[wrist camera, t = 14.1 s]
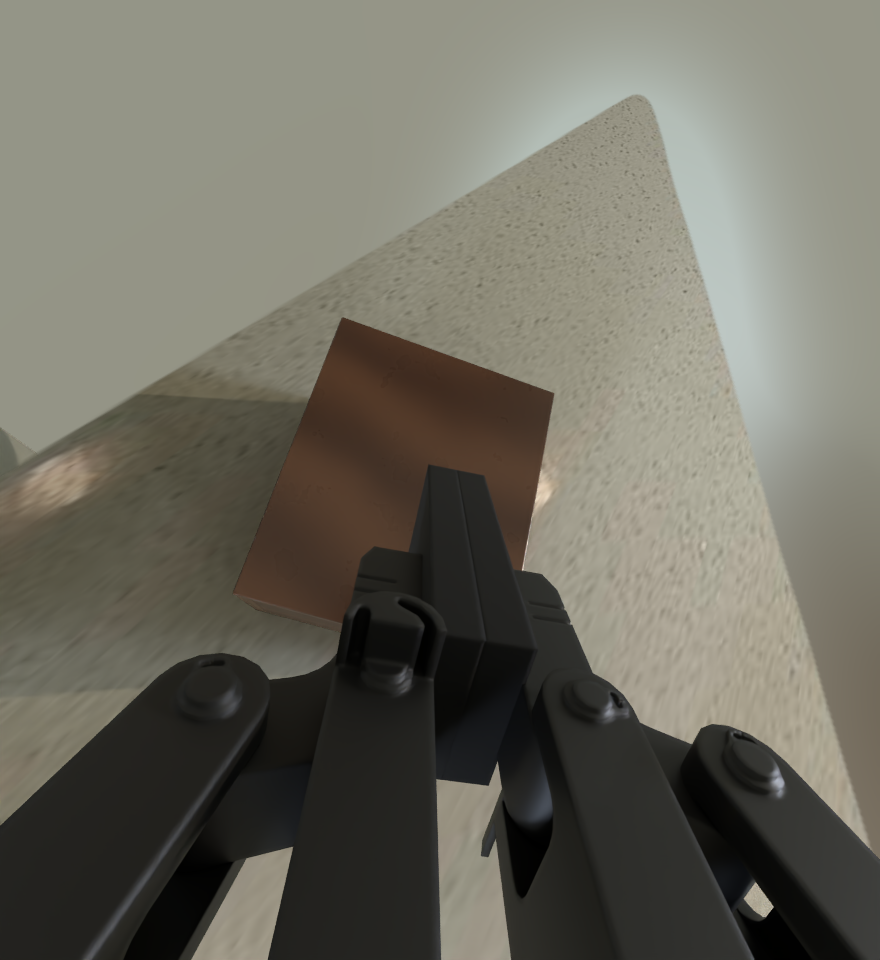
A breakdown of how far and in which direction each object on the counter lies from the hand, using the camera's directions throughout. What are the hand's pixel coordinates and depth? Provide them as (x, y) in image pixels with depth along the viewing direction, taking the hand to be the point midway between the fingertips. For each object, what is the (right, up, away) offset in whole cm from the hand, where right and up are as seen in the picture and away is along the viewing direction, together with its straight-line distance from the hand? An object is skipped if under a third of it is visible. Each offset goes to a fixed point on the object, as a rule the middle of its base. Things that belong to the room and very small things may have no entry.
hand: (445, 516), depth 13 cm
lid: (-2, +1, +14) cm, 14 cm away
